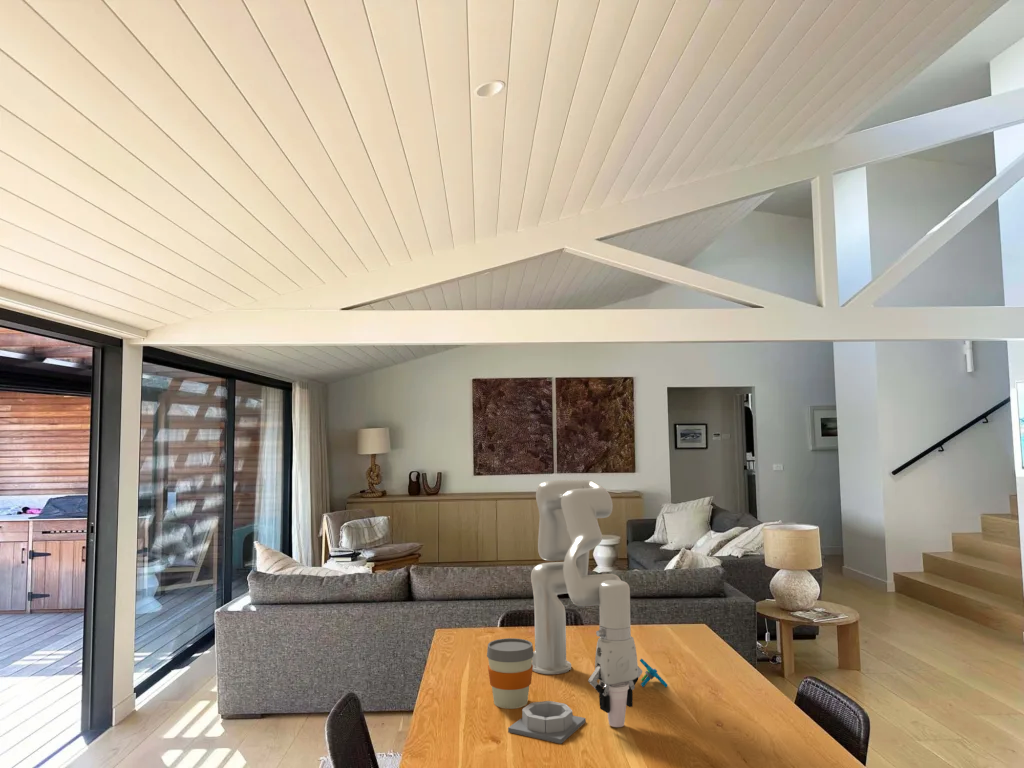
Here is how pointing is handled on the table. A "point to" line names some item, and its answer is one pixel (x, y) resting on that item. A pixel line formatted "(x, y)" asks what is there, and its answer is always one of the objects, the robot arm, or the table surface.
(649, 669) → the gear
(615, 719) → the smoothie
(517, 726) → the bottle socket
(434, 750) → the table surface
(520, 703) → the reusable coffee cup
